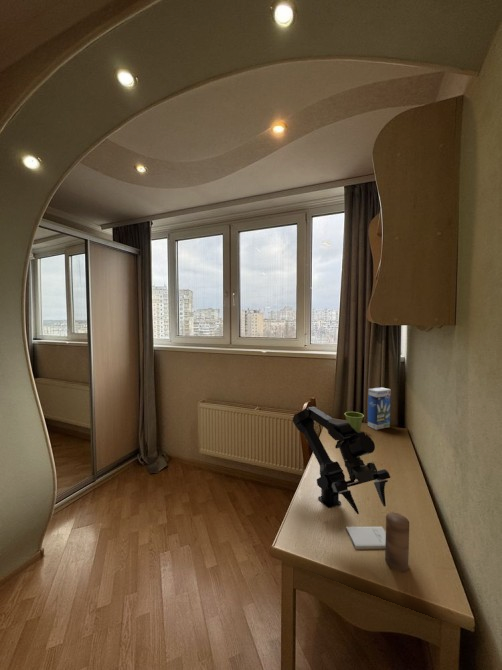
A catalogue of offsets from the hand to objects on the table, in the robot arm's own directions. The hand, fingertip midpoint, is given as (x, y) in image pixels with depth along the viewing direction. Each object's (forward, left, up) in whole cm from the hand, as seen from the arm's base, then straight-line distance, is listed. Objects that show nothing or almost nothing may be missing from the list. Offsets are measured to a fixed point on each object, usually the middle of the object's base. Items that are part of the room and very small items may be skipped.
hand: (371, 510), depth 88 cm
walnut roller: (+9, 0, -10) cm, 14 cm away
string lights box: (-69, +82, -10) cm, 108 cm away
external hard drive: (-1, 0, -11) cm, 11 cm away
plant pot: (-69, +60, -10) cm, 92 cm away
